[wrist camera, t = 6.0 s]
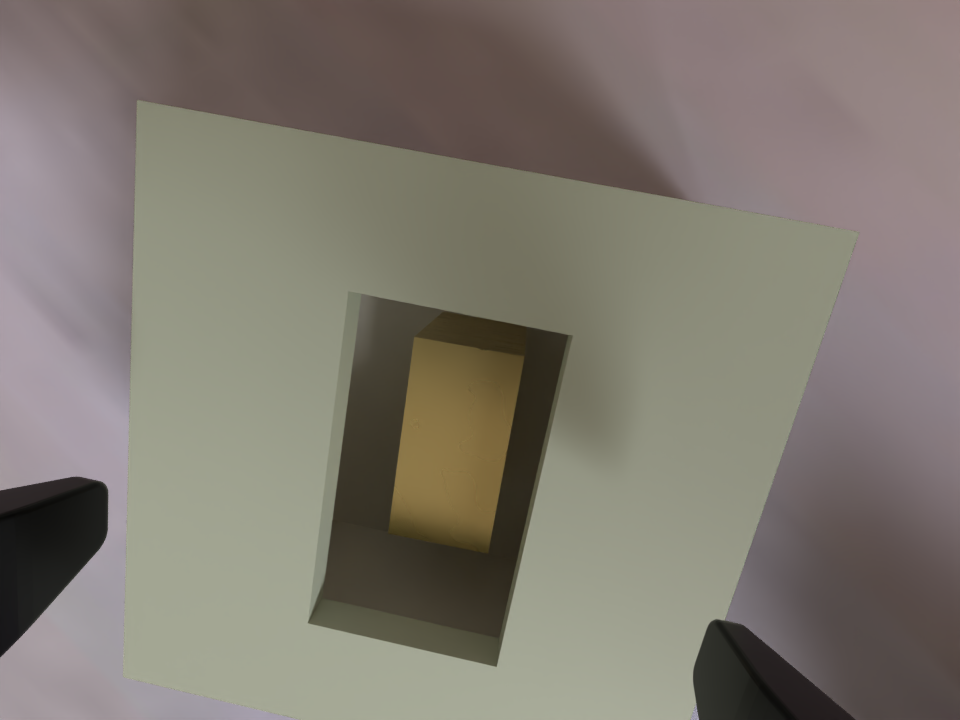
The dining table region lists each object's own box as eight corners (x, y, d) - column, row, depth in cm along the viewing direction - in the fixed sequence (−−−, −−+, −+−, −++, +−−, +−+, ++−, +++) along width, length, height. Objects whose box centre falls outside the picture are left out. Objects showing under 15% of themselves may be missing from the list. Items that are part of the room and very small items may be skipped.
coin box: (714, 232, 15) (859, 232, 8) (612, 592, 18) (659, 806, 11) (306, 156, 16) (137, 100, 9) (271, 516, 19) (122, 677, 12)
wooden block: (526, 326, 16) (524, 356, 12) (498, 480, 17) (487, 553, 13) (443, 311, 16) (414, 336, 12) (420, 465, 17) (388, 533, 13)
